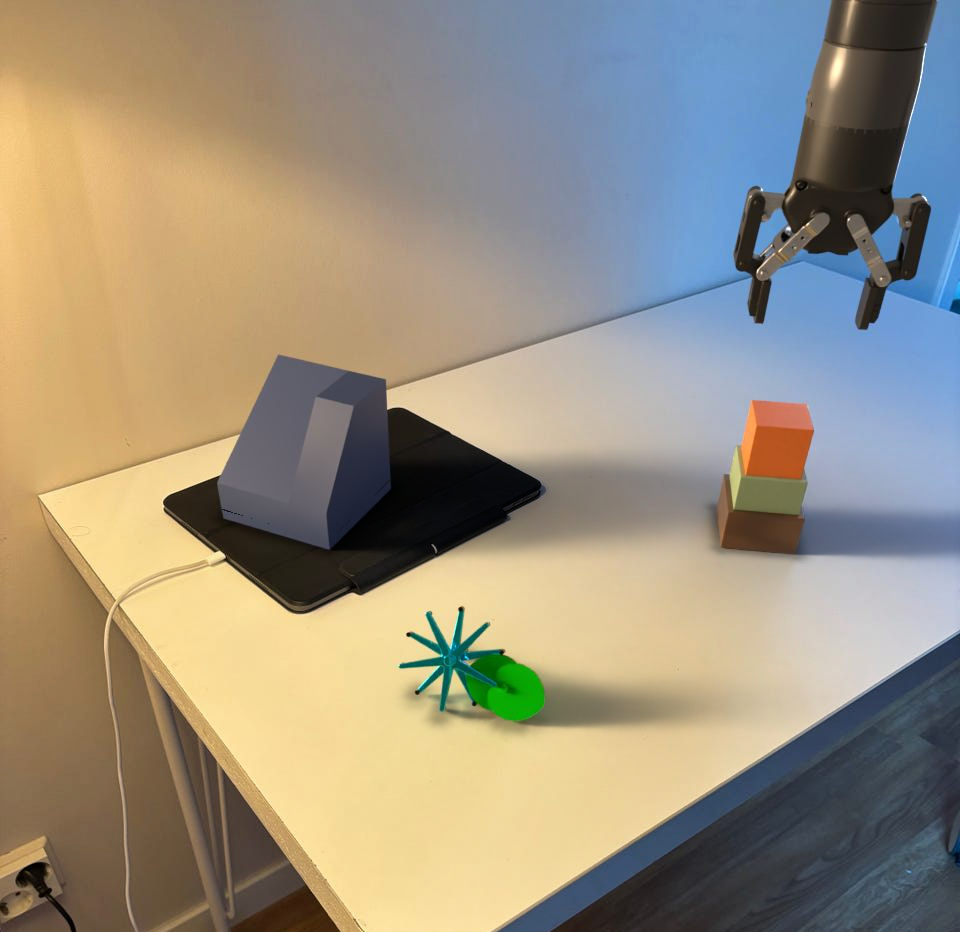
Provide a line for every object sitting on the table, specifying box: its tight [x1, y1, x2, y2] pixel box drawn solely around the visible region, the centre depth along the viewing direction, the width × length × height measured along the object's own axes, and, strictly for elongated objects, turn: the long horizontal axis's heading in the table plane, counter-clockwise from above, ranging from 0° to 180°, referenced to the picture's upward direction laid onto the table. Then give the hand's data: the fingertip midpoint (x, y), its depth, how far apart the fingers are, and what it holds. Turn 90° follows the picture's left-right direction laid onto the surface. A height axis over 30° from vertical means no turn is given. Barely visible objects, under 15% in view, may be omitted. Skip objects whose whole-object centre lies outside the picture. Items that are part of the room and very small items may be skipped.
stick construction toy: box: [398, 605, 546, 722], centre depth 78 cm, size 12×7×8 cm
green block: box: [729, 444, 809, 515], centre depth 92 cm, size 6×6×4 cm
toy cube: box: [741, 399, 815, 479], centre depth 90 cm, size 5×5×5 cm
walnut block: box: [716, 473, 806, 555], centre depth 95 cm, size 7×7×4 cm
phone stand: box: [216, 354, 392, 551], centre depth 94 cm, size 12×12×12 cm
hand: (809, 323), depth 84 cm, fingers open, 8 cm apart
